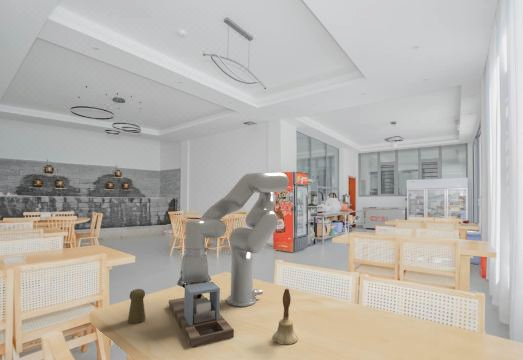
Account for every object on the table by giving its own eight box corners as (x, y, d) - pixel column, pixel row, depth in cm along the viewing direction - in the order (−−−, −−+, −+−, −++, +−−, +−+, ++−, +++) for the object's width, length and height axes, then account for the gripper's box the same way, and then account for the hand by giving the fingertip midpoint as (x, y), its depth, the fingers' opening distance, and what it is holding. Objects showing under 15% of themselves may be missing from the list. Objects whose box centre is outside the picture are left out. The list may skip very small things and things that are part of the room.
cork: (139, 325, 104) (139, 293, 104) (123, 323, 105) (124, 292, 106) (148, 317, 110) (149, 288, 110) (134, 316, 111) (135, 286, 111)
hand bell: (291, 330, 102) (292, 284, 102) (302, 342, 94) (303, 292, 94) (269, 334, 99) (269, 286, 100) (278, 346, 91) (279, 294, 92)
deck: (233, 337, 97) (233, 329, 97) (191, 347, 90) (191, 339, 90) (202, 300, 127) (202, 294, 127) (168, 306, 121) (169, 300, 121)
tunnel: (219, 319, 104) (219, 288, 104) (189, 325, 99) (190, 292, 99) (211, 311, 111) (212, 281, 111) (184, 316, 106) (184, 285, 106)
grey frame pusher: (214, 319, 103) (215, 291, 104) (193, 323, 100) (194, 294, 100) (202, 303, 117) (202, 279, 117) (183, 307, 113) (183, 281, 113)
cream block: (206, 313, 108) (206, 297, 108) (210, 319, 104) (210, 302, 104) (192, 316, 106) (192, 299, 106) (196, 322, 101) (196, 304, 102)
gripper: (212, 248, 121) (211, 293, 121) (171, 251, 114) (170, 299, 113) (218, 251, 115) (217, 299, 114) (175, 255, 107) (174, 307, 106)
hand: (194, 299), depth 114 cm, fingers closed on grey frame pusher, 3 cm apart
